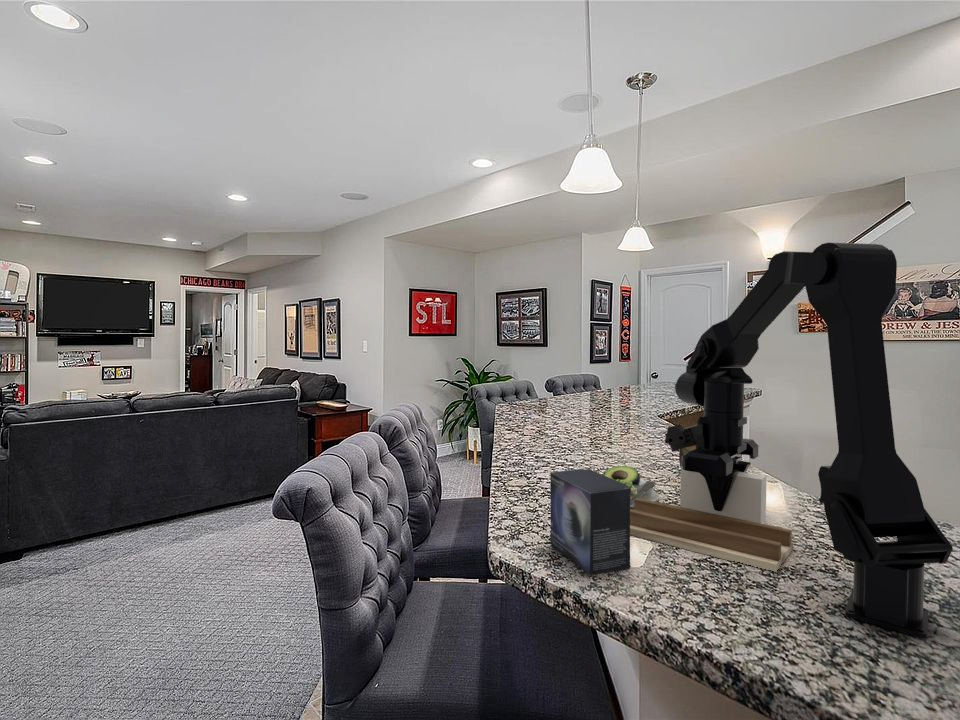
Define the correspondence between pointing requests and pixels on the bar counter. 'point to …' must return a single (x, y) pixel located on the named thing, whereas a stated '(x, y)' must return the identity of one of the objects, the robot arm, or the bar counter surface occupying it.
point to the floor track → (711, 534)
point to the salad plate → (633, 483)
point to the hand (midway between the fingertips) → (721, 508)
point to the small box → (590, 520)
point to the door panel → (740, 503)
